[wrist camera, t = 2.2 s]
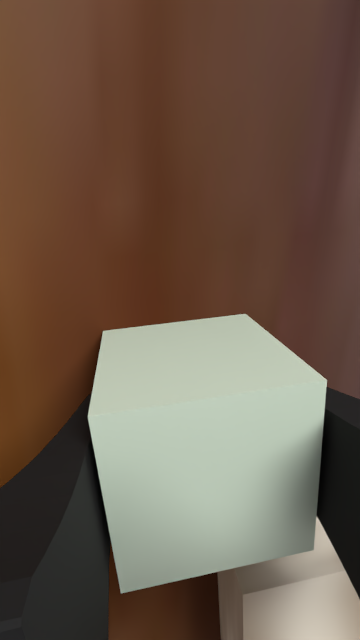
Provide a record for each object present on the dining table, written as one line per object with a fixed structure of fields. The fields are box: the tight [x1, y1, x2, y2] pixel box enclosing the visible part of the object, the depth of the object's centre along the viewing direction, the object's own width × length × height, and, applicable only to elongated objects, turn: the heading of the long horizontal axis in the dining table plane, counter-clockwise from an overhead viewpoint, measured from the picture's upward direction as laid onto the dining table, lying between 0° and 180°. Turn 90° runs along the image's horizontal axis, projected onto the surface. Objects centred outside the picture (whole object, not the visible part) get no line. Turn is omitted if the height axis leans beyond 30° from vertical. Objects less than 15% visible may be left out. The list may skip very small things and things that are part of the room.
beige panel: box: [218, 516, 360, 640], centre depth 15 cm, size 12×12×4 cm
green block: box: [88, 314, 327, 593], centre depth 10 cm, size 5×5×5 cm
